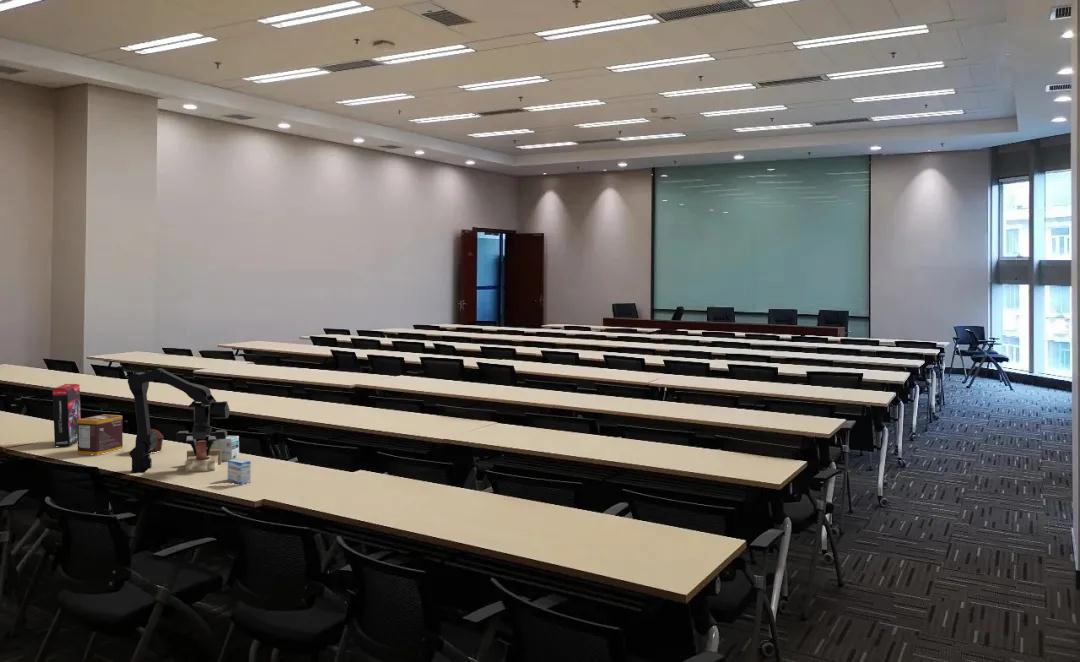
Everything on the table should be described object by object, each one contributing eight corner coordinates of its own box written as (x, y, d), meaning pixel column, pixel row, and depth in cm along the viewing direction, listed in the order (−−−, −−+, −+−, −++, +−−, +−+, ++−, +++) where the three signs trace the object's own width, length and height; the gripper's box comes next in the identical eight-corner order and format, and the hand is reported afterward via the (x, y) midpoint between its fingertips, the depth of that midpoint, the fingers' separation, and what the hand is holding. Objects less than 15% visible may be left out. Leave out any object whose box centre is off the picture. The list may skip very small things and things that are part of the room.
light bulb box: (239, 460, 346) (239, 435, 345) (232, 463, 339) (232, 438, 339) (216, 459, 347) (215, 434, 346) (208, 462, 340) (207, 437, 340)
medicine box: (227, 482, 307) (227, 460, 306) (236, 480, 311) (236, 458, 310) (241, 485, 303) (241, 462, 303) (251, 483, 307) (251, 460, 307)
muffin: (134, 450, 361) (134, 428, 361) (161, 448, 367) (161, 426, 367) (138, 455, 351) (137, 432, 351) (165, 453, 357) (165, 430, 357)
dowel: (195, 464, 323) (195, 442, 322) (197, 462, 327) (197, 440, 326) (206, 464, 324) (206, 442, 323) (207, 462, 328) (207, 440, 327)
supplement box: (123, 449, 364) (123, 415, 363) (96, 456, 349) (96, 420, 348) (104, 447, 366) (103, 413, 366) (77, 454, 352) (76, 419, 351)
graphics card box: (69, 447, 366) (68, 388, 364) (52, 447, 364) (51, 388, 362) (81, 440, 382) (81, 383, 381) (65, 440, 381) (64, 383, 379)
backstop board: (179, 478, 312) (179, 460, 311) (187, 467, 331) (187, 450, 331) (214, 477, 315) (214, 459, 315) (221, 466, 334) (221, 449, 334)
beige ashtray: (185, 471, 319) (184, 461, 318) (189, 465, 329) (189, 455, 329) (214, 470, 322) (214, 460, 321) (218, 464, 332) (218, 455, 332)
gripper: (173, 421, 314) (173, 461, 315) (223, 420, 319) (223, 459, 320) (178, 417, 325) (178, 455, 326) (227, 416, 330) (227, 453, 331)
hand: (201, 456), depth 325 cm, fingers closed on dowel, 4 cm apart
